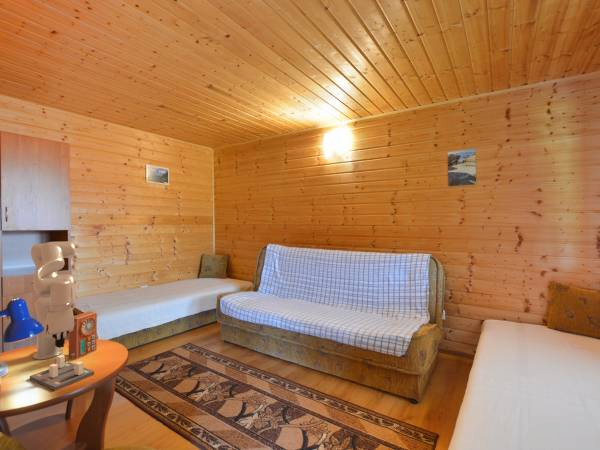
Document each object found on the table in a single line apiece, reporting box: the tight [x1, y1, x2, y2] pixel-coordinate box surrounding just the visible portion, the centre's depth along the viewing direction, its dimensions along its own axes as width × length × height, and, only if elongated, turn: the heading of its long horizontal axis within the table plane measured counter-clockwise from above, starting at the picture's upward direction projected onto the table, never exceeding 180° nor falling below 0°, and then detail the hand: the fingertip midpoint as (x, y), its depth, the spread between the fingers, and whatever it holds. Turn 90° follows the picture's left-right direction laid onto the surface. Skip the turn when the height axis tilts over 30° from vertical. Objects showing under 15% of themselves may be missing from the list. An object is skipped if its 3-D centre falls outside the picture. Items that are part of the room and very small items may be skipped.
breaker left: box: [56, 354, 66, 368], centre depth 150 cm, size 3×2×5 cm, turn 64°
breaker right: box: [74, 360, 84, 375], centre depth 143 cm, size 3×2×5 cm, turn 64°
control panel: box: [68, 310, 98, 360], centre depth 169 cm, size 21×7×15 cm
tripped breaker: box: [48, 363, 58, 378], centre depth 141 cm, size 3×2×5 cm, turn 64°
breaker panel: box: [29, 361, 95, 391], centre depth 144 cm, size 21×16×2 cm
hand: (59, 346), depth 143 cm, fingers closed
